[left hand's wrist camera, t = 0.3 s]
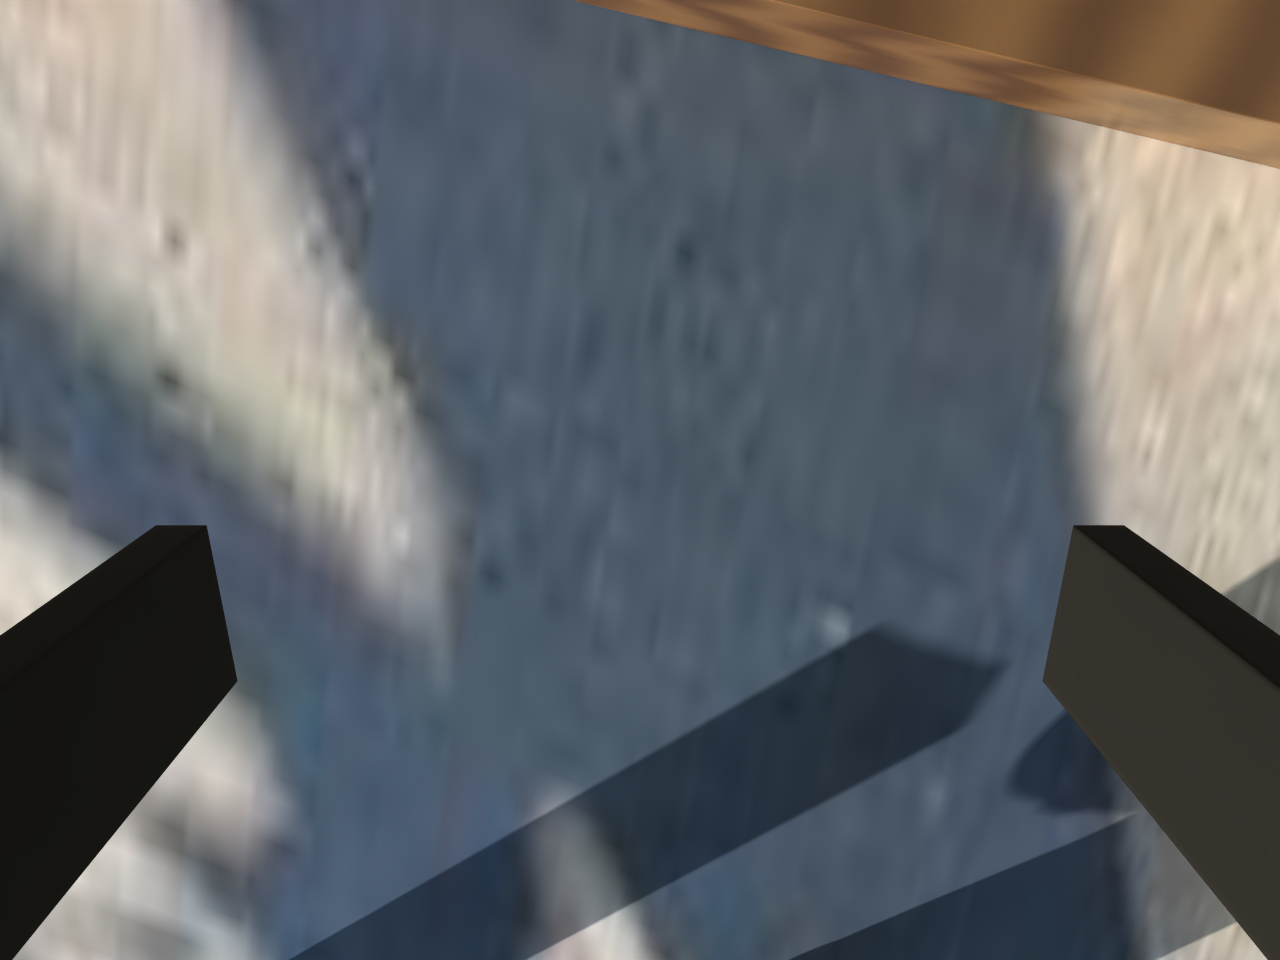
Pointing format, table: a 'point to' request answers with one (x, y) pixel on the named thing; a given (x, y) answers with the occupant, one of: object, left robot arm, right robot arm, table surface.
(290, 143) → the table surface
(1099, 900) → the table surface
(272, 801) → the table surface
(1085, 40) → the post
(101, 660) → the left robot arm
